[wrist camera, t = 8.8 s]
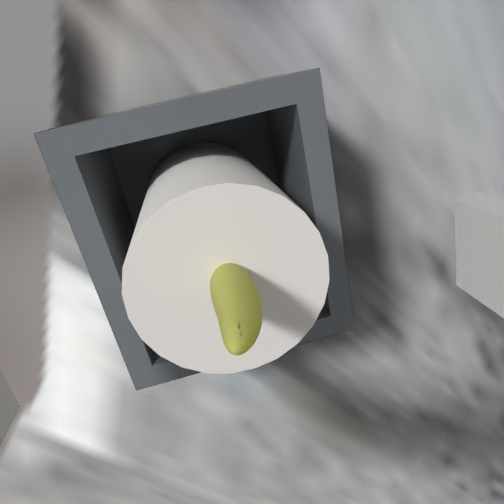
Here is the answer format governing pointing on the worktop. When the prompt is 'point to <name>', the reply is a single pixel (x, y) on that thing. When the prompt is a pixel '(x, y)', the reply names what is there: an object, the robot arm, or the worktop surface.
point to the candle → (221, 264)
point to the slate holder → (162, 145)
